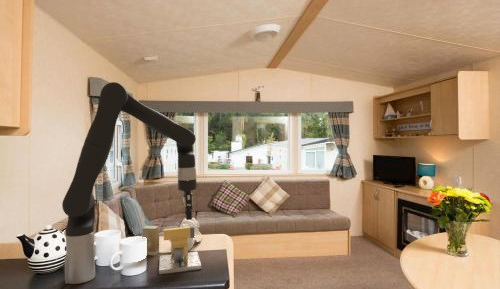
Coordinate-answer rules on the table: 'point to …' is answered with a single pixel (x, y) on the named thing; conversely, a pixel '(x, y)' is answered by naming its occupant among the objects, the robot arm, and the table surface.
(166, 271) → the post base
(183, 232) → the yellow irregular block
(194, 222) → the cherub figurine
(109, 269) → the table surface
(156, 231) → the skincare box
